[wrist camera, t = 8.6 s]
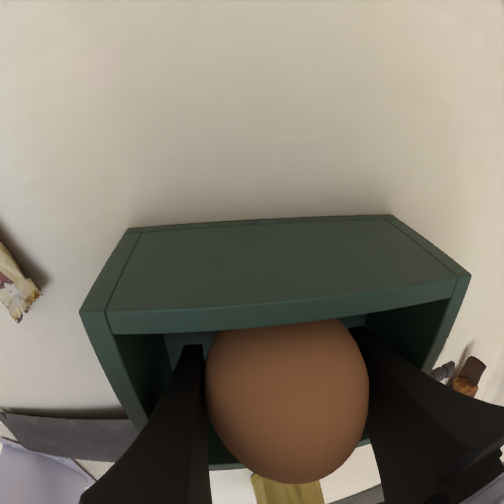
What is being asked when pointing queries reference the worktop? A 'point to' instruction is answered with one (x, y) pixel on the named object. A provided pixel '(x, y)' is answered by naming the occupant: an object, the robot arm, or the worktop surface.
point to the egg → (288, 397)
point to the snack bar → (15, 286)
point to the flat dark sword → (95, 432)
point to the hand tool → (469, 377)
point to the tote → (263, 295)
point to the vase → (286, 492)
